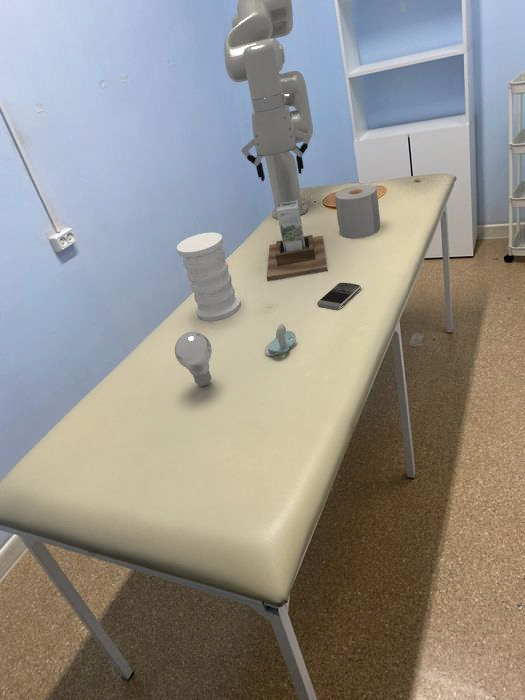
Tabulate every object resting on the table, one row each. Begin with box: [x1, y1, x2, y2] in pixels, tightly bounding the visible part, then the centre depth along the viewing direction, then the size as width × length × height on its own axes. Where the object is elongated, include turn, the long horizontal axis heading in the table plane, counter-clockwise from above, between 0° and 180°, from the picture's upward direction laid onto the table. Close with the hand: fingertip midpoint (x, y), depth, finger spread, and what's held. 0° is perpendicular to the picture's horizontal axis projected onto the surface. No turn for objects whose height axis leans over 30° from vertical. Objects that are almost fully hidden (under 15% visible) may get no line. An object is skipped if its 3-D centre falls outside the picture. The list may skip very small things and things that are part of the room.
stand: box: [266, 234, 328, 282], centre depth 139 cm, size 22×16×4 cm
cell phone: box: [316, 282, 362, 311], centre depth 117 cm, size 6×11×1 cm, turn 141°
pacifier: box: [264, 323, 297, 357], centre depth 103 cm, size 7×6×6 cm
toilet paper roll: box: [334, 184, 381, 239], centre depth 145 cm, size 12×12×12 cm
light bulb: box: [174, 331, 213, 387], centre depth 96 cm, size 7×7×12 cm
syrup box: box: [277, 200, 306, 253], centre depth 135 cm, size 6×6×14 cm
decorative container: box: [176, 232, 242, 322], centre depth 120 cm, size 12×12×18 cm
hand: (281, 175), depth 127 cm, fingers open, 9 cm apart
